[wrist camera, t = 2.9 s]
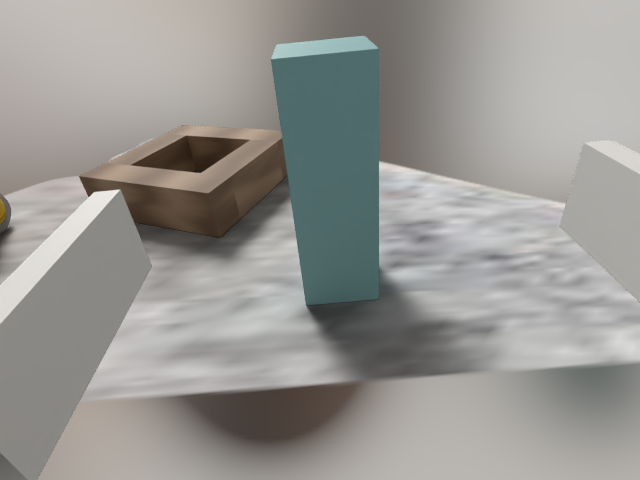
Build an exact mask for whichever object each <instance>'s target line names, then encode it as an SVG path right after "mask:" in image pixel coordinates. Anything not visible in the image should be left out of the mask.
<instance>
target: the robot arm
mask: <svg viewBox="0 0 640 480" xmlns="http://www.w3.org/2000/svg"><path fill="white" fill-rule="evenodd" d="M559 227H560V228H561V229H562V230H563V231H565V232H566V233H567V234H568V235H569V236H570V237H571V238H572V239H573V240H574V241H575V242H576V243H577V244H578V245H579V246H580V247H581V248H583V249H584V250H585V251H586V252H587V253H588V254H589V255H590V256H591V257H592V258H593V259H594V260H595V261H596V262H597V263H598V264H599V265H601V266H602V267H603V268H604V269H605V270H606V271H607V272H608V273H609V274H610V275H611V276H612V277H613V278H614V279H615V280H616V281H618V282H619V283H620V284H621V285H622V286H623V287H624V288H625V289H626V290H627V291H628V292H629V293H630V294H631V295H632V296H633V297H634V298H636V299H637V300H638V301H639V302H640V154H638V153H636V152H634V151H632V150H630V149H628V148H626V147H624V146H622V145H621V144H618V143H616V142H615V141H613V140H605V141H595V142H585V143H583V146H582V150H581V153H580V157H579V160H578V164H577V167H576V171H575V175H574V178H573V181H572V184H571V188H570V192H569V195H568V198H567V202H566V205H565V209H564V212H563V216H562V219H561V223H560V226H559ZM151 267H152V265H151V262H150V260H149V257H148V255H147V253H146V250H145V248H144V245H143V243H142V240H141V238H140V236H139V233H138V231H137V228H136V226H135V224H134V221H133V219H132V216H131V214H130V211H129V209H128V207H127V204H126V202H125V199H124V197H123V195H122V192H121V190H110V191H101V192H94V193H93V194H92V195H91V196H90V197H89V198H88V199H87V200H86V201H85V202H84V203H83V204H82V205H81V206H80V207H79V208H78V209H77V210H76V211H75V212H74V213H73V214H72V215H71V216H70V217H69V218H67V219H66V220H65V221H64V222H63V223H62V224H61V225H60V226H59V227H58V228H57V229H56V230H55V231H54V232H53V233H52V234H51V235H50V236H49V237H48V238H47V239H46V240H45V241H44V242H43V243H42V244H41V245H40V246H39V247H38V248H37V249H36V250H35V251H34V252H33V253H32V254H31V255H30V256H29V257H28V258H27V259H26V260H25V261H24V262H23V263H22V264H21V265H20V266H19V267H18V268H17V269H16V270H15V271H14V272H13V273H12V274H11V275H10V276H9V277H8V278H7V279H6V280H5V281H4V282H3V283H2V284H1V285H0V480H37V479H38V477H39V476H40V474H41V472H42V470H43V468H44V466H45V464H46V463H47V461H48V459H49V457H50V455H51V453H52V451H53V450H54V448H55V446H56V444H57V442H58V440H59V438H60V437H61V435H62V433H63V431H64V429H65V427H66V425H67V423H68V422H69V420H70V418H71V416H72V414H73V412H74V410H75V409H76V407H77V405H78V403H79V401H80V399H81V398H82V396H83V394H84V392H85V390H86V388H87V386H88V384H89V383H90V381H91V379H92V377H93V375H94V373H95V371H96V370H97V368H98V366H99V364H100V362H101V360H102V358H103V357H104V355H105V353H106V351H107V349H108V347H109V345H110V344H111V342H112V340H113V338H114V336H115V334H116V332H117V330H118V329H119V327H120V325H121V323H122V321H123V319H124V317H125V316H126V314H127V312H128V310H129V308H130V306H131V304H132V303H133V301H134V299H135V297H136V295H137V293H138V291H139V290H140V288H141V286H142V284H143V282H144V280H145V278H146V277H147V275H148V273H149V271H150V269H151Z"/></svg>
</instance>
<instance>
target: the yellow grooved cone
mask: <svg viewBox="0 0 640 480" xmlns="http://www.w3.org/2000/svg"><path fill="white" fill-rule="evenodd" d="M10 217H11V208H10V205H9V203H8V201H7V200H6V199H5V198H4V197H3V196H2V195H1V194H0V234H1V233H3V231H4V230H5V229H6V228H7V226H8V225H9V222H10Z"/></svg>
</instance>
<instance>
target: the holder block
mask: <svg viewBox="0 0 640 480" xmlns="http://www.w3.org/2000/svg"><path fill="white" fill-rule="evenodd" d="M196 170H198V171H203V172H202V173H194V171H196ZM286 176H287V168H286V161H285V154H284V147H283V140H282V133H281V131H278V130H261V129H243V128H225V127H207V126H188V125H182V126H180V127H178V128H176V129H174V130H172V131H170V132H168V133H166V134H164V135H162V136H159V137H157V138H155V139H153V140H151V141H149V142H147V143H145V144H143V145H141V146H139V147H137V148H135V149H133V150H131V151H129V152H127V153H125V154H123V155H121V156H119V157H117V158H115V159H113V160H111V161H109V162H107V163H105V164H103V165H101V166H98V167H96V168H94V169H92V170H90V171H88V172H86V173H84V174H82V175H80V176H79V177H80V179H81V182H82V184H83V186H84V188H85V190H86V192H87V195H88V197H90V196H91V195H92V194H93V193H94V192H101V191H110V190H121V192H122V195H123V197H124V199H125V202H126V204H127V207H128V209H129V211H130V214H131V216H132V219H133V221H134V222H137V223H142V224H148V225H153V226H159V227H164V228H170V229H175V230H181V231H186V232H192V233H197V234H203V235H208V236H214V237H219V238H221V237H222V236H223V235H224V234H225V233H226V232H227V231H228V230H229V229H230V228H231V227H232V226H234V225H235V224H236V223H237V222H238V221H239V220H240V219H241V218H242V217H243V216H244V215H245V214H246V213H248V212H249V211H250V210H251V209H252V208H253V207H254V206H255V205H256V204H257V203H258V202H259V201H261V200H262V199H263V198H264V197H265V196H266V195H267V194H268V193H269V192H270V191H271V190H272V189H273V188H275V187H276V186H277V185H278V184H279V183H280V182H281V181H282V180H283V179H284V178H285V177H286Z"/></svg>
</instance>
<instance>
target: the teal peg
mask: <svg viewBox="0 0 640 480" xmlns="http://www.w3.org/2000/svg"><path fill="white" fill-rule="evenodd" d="M271 62H272V70H273V77H274V83H275V90H276V98H277V105H278V112H279V119H280V126H281V133H282V140H283V147H284V154H285V161H286V168H287V175H288V182H289V189H290V196H291V203H292V210H293V217H294V224H295V231H296V238H297V245H298V252H299V259H300V266H301V273H302V280H303V287H304V294H305V301H306V305H317V304H328V303H340V302H351V301H362V300H373V299H379V48H377V47H376V46H375V45H374V44H373V43H372V42H371V41H370V40H369V39H367V38H366V37H365V36H358V37H348V38H338V39H327V40H317V41H308V42H297V43H287V44H277V46H276V48H275V51H274V53H273V56H272V58H271Z"/></svg>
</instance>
